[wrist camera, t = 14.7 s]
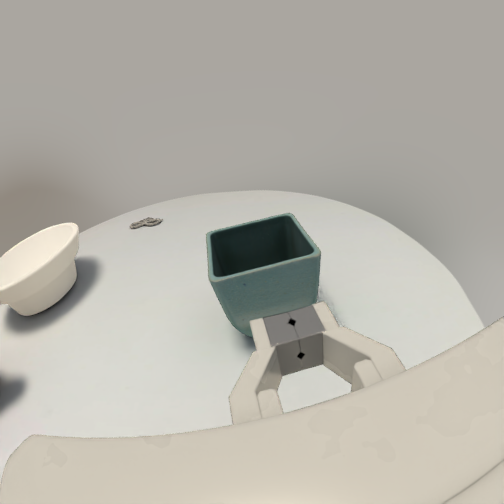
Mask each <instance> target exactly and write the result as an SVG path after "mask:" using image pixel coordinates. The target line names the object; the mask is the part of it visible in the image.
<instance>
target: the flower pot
mask: <svg viewBox="0 0 504 504" xmlns="http://www.w3.org/2000/svg"><path fill="white" fill-rule="evenodd" d="M206 244H207V258H208V277H209V281H210V283H211V285H212V287H213V289H214V291H215V294H216V296H217V298H218V300H219V302H220V304H221V306H222V308H223V310H224V312H225V314H226V316H227V318H228V319H229V321H230V322H231V324H232V325H233V326H234V327H235V328H236V329H237V330H239V331H240V332H241V333H243V334H245V335H247V336H250V337H253V335H252V330H251V326H250V320H255V319H259V318H263V317H267V316H271V315H275V314H280V313H284V312H288V311H291V310H295V309H298V308H302V307H305V306H309V305H312V304H315V303H316V300H317V295H318V286H319V274H320V259H321V251H320V249H319V248H318V247H317V245H316V244H315V243H314V242H313V240H312V239H311V238H310V237H309V235H308V234H307V233H306V231H305V230H304V229H303V227H302V226H301V225H300V223H299V222H298V221H297V219H296V218H295V216H294V215H293V214H291V213H285V214H280V215H276V216H272V217H268V218H264V219H260V220H255V221H251V222H247V223H243V224H239V225H235V226H231V227H226V228H222V229H218V230H214V231H211V232H208V233H207V234H206Z"/></svg>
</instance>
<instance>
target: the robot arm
mask: <svg viewBox="0 0 504 504" xmlns="http://www.w3.org/2000/svg"><path fill="white" fill-rule="evenodd" d="M250 326H251V330H252V335H253V339H254V343H255V347H256V351H254V352H253V353H252V354H251V356H250V358H249V360H248V362H247V364H246V366H245V368H244V370H243V372H242V373H241V375H240V377H239V379H238V381H237V383H236V385H235V387H234V388H233V390H232V392H231V394H230V396H229V402H230V409H231V416H232V423H233V425H229V426H224V427H218V428H212V429H206V430H199V431H192V432H184V433H175V434H166V435H154V436H140V437H118V438H80V437H59V436H47V435H31V436H29V437H28V438H27V439H26V440H25V441H24V442H23V443H22V444H21V445H20V446H19V447H18V448H17V449H16V450H15V451H14V452H13V453H12V454H11V455H10V457H9V458H8V460H7V463H6V465H5V468H4V471H3V475H2V479H1V484H0V504H504V316H503V317H502V318H500V319H499V320H497V321H496V322H494V323H492V324H491V325H490V326H488V327H486V328H485V329H483V330H481V331H480V332H478V333H476V334H475V335H473V336H471V337H469V338H468V339H466V340H464V341H463V342H461V343H459V344H457V345H455V346H454V347H452V348H450V349H448V350H446V351H444V352H442V353H440V354H438V355H436V356H435V357H433V358H431V359H429V360H426V361H424V362H422V363H420V364H418V365H416V366H414V367H412V368H410V369H407V370H406V369H405V367H404V366H403V364H402V363H401V361H400V360H399V358H398V357H397V355H396V354H395V352H394V351H393V349H392V348H390V347H388V346H386V345H383V344H381V343H379V342H377V341H374V340H372V339H370V338H368V337H366V336H363V335H361V334H359V333H357V332H355V331H353V330H350V329H348V328H346V327H344V326H343V327H340V326H339V325H338V323H337V321H336V319H335V318H334V316H333V314H332V313H331V311H330V309H329V307H328V306H327V304H326V302H324V301H322V302H318V303H315V304H312V305H309V306H305V307H302V308H298V309H295V310H291V311H288V312H284V313H280V314H275V315H271V316H267V317H263V318H259V319H255V320H250ZM319 365H324V366H325V367H327V368H328V369H330V370H331V371H333V372H334V373H336V374H337V375H338V376H340V377H341V378H343V379H344V380H346V381H347V382H349V383H350V384H352V387H351V393H348V394H345V395H343V396H340V397H337V398H334V399H331V400H328V401H325V402H321V403H318V404H315V405H312V406H308V407H305V408H301V409H298V410H294V411H291V412H287V413H283V409H282V406H281V403H280V399H279V396H278V393H277V390H278V387H279V385H280V382H281V379H282V376H284V375H288V374H291V373H294V372H298V371H301V370H304V369H308V368H312V367H315V366H319Z"/></svg>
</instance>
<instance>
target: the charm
mask: <svg viewBox="0 0 504 504" xmlns="http://www.w3.org/2000/svg"><path fill="white" fill-rule="evenodd" d="M162 220H163V219H161V220H160V219H154V218H150V217H149V218H147V219H144V220H141V221H139V222H135V223H132V224H131V225H130V228H137V227H140V226H143V225H149V226H150V225H155V224H158V223H160V222H161V221H162ZM154 221H157V222H154ZM151 222H154V223H151ZM136 224H139V225H136ZM133 225H136V226H133Z"/></svg>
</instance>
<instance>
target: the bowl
mask: <svg viewBox="0 0 504 504" xmlns="http://www.w3.org/2000/svg"><path fill="white" fill-rule="evenodd" d="M78 249H79V228H78V226H77V225H76V224H75V223H63V224H58V225H55V226H52V227H49V228H46V229H44V230H42V231H40V232H37V233H35V234H33V235H32V236H30V237H28V238H26V239H25V240H23V241H21V242H20V243H18V244H17V245H16V246H14V247H13V248H11V249H10V250H9V251H8V252H6V253H5V254H4V255H3V256H2V257H0V304H8V305H9V306H10V307H12V308H13V309H14V310H15V311H16V312H17V313H19V314H20V315H23V316H29V315H33V314H37V313H39V312H41V311H43V310H45V309H47V308H49V307H50V306H52V305H53V304H55V303H56V302H57V301H59V300H60V299H61V298H62V297H63V296H64V295H65V294H66V293H67V292H68V291H69V290H70V289H71V287H72V286H73V284H74V283H75V280H76V278H77V272H76V266H75V260H74V258H75V256H76V255H77V253H78Z"/></svg>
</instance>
